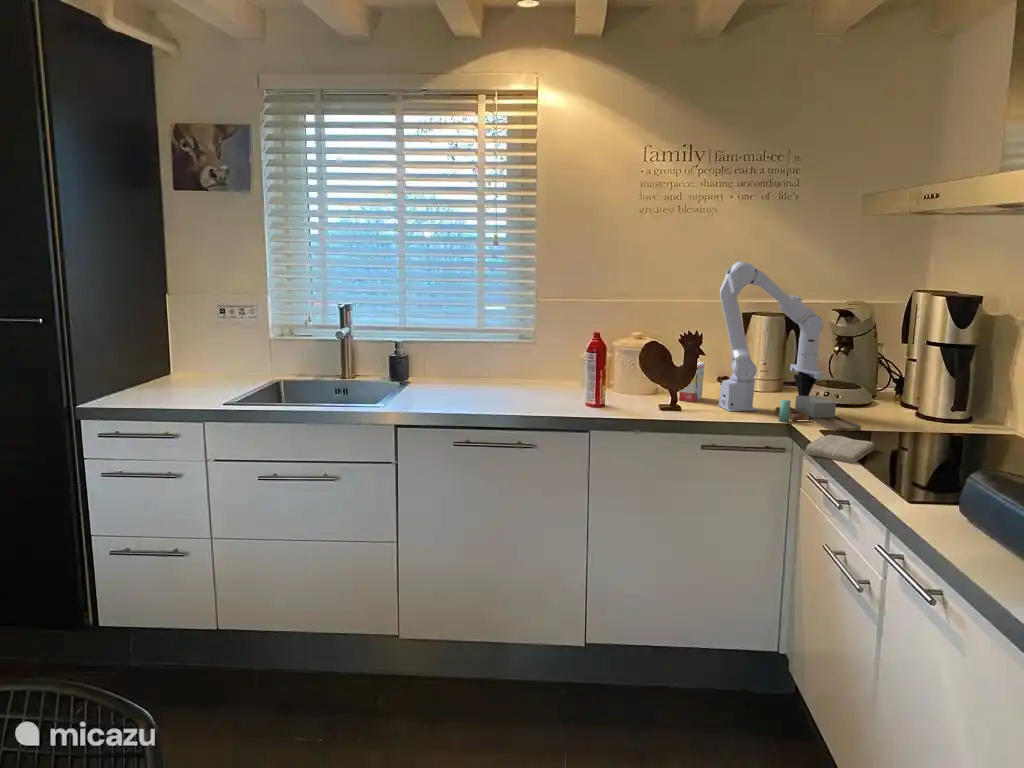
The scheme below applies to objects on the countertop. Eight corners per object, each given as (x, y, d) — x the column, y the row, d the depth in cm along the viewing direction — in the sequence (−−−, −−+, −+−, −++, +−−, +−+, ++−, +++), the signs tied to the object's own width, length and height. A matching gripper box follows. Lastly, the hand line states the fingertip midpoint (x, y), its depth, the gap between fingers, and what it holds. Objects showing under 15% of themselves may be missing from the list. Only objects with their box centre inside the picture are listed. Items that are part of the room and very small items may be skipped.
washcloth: (874, 451, 204) (876, 439, 204) (855, 466, 190) (856, 453, 190) (826, 443, 211) (827, 431, 211) (803, 456, 197) (805, 444, 197)
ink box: (693, 402, 254) (696, 365, 252) (678, 400, 257) (680, 363, 255) (702, 398, 261) (705, 362, 259) (688, 396, 264) (690, 360, 262)
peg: (781, 422, 231) (783, 401, 230) (777, 420, 233) (779, 399, 232) (790, 422, 231) (792, 401, 230) (785, 420, 234) (787, 399, 233)
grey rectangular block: (813, 417, 233) (814, 402, 232) (794, 410, 243) (796, 395, 242) (834, 417, 235) (836, 402, 234) (815, 410, 244) (816, 395, 243)
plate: (833, 431, 222) (835, 419, 222) (791, 413, 243) (792, 402, 243) (860, 430, 224) (861, 419, 223) (816, 412, 245) (817, 402, 244)
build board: (792, 421, 232) (793, 415, 232) (774, 413, 242) (775, 407, 242) (809, 421, 233) (810, 414, 233) (790, 413, 243) (791, 406, 243)
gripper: (834, 357, 236) (829, 403, 238) (806, 350, 250) (802, 393, 252) (812, 357, 234) (807, 403, 237) (785, 350, 248) (781, 393, 251)
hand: (803, 398), depth 244 cm, fingers closed
